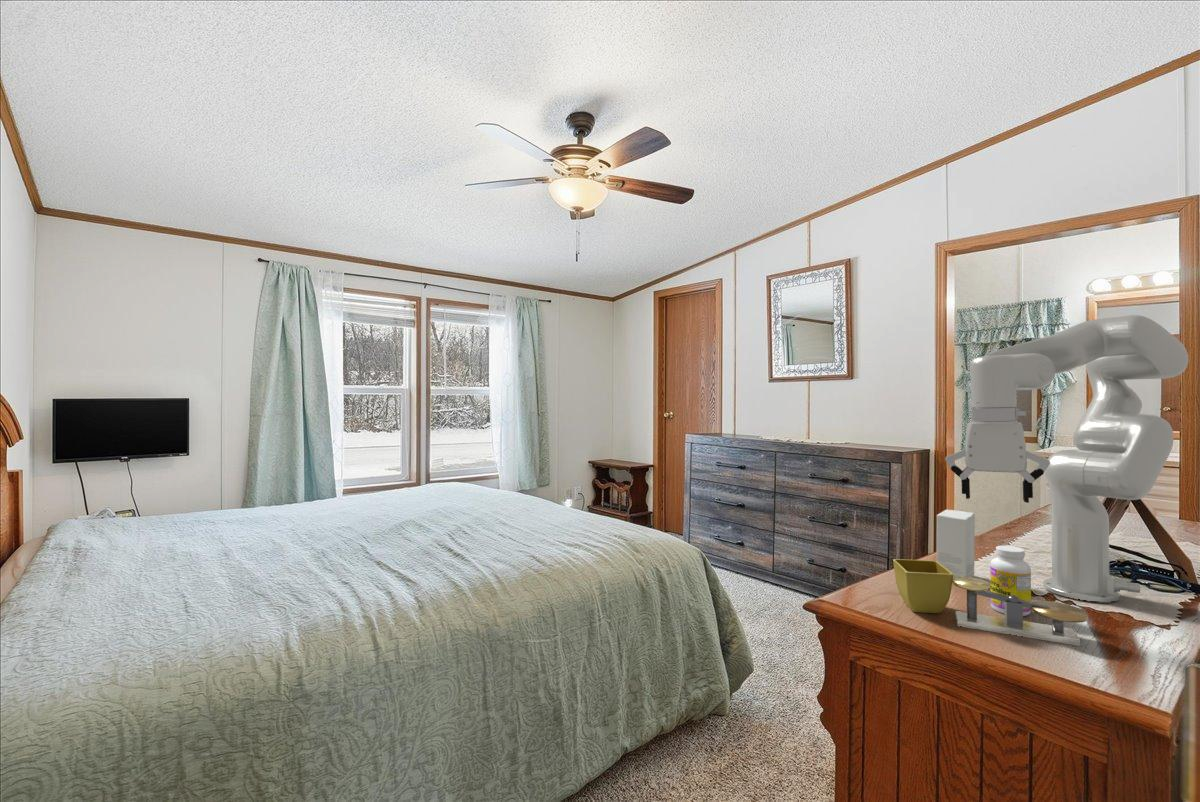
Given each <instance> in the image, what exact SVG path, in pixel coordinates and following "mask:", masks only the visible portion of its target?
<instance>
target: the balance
mask: <svg viewBox="0 0 1200 802" xmlns="http://www.w3.org/2000/svg"><path fill="white" fill-rule="evenodd" d="M952 585H954V586H955V587H958V588H960V589H962V590H963V589H964V590H966V611H959V610H955V620H957V621H956V624H957V627H960V626H962V627H961V628H965V629H966V628H967V629H973V630H979V631H986V632H991V633H998V634H1002V635H1003V634H1004V635H1009V634H1011V635H1010V636H1015V635H1017V637H1021V636H1023V637H1022V638H1029V639H1035V640H1041V641H1045V642H1052V643H1060V644H1063V645H1064V644H1066V645H1072V646H1077V647H1080V646H1081V641H1080V640H1081V639H1080V637H1079V636H1078V635H1077V633H1076V631H1075V630H1074V629H1073V628H1072V627H1065V626H1064V625H1065V623H1077V624H1078V623H1079V624H1081V623H1085V622H1087V621H1088V613H1087V611H1085V610H1083V609H1081V608H1080V607H1077V606H1074V605H1072V604H1071V605H1070V604H1068V603H1063V602H1057V601H1051V600H1034V601H1031V602H1029V601H1025V600H1021V599H1019V598H1018V597H1017V596H1014V595H1010V596H1006V595H1002V594H998V593H995V592H991V591H990V590H991V582H989V581H987V580H985V579H981V578H978V577H974V576H973V577H955V578H953V582H952ZM978 596H982V597H985V598H989V599H990V598H992V599H996V600H1000V601H1004V602H1005V614H1004V617H999V616H993V615H992V616H991V615H986V614H979V613H978V602H977V601H978V600H977V599H978ZM1023 607H1026V608H1030V610H1031V613H1034V614H1036V615H1038V616H1039V617H1040V616H1041V617H1043V618H1045V619H1049V620H1051V621H1052V624H1046V623H1041V622H1040V623H1039V622H1032V621H1026V620H1025V621H1024V616H1023Z"/></svg>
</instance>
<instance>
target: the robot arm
mask: <svg viewBox="0 0 1200 802" xmlns="http://www.w3.org/2000/svg"><path fill="white" fill-rule="evenodd" d="M1188 364H1189V353H1188V351H1187V349H1186V346H1185V345H1184V344H1183V343H1182V342H1181V341H1180V340H1179V339H1178V338H1177V337H1175V336H1174V335H1173V334H1172V333H1171V332H1170V331H1168V329H1166V328H1165V327H1163V326H1161V324H1160V323H1157V322H1156V321H1154V319H1151V318H1149V317H1146V316H1143V315H1138V314H1132V315H1122V316H1115V317H1114V316H1113V317H1112V316H1111V317H1105V318H1097V319H1096V318H1095V319H1091V320H1085V321H1083V322H1079V323H1077V324H1075V325H1073V326H1071V327H1069V328H1066V329H1063V330H1061V331H1058V332H1056V333H1054V334H1051V335H1047V336H1044V337H1039V338H1036V339H1033V340H1029V341H1027V342H1023V343H1022V342H1021V343H1019V344H1013V345H1011V346H1010V345H1009V346H1007V347H1003V348H1001V349H998V350H995V351H992V352H990V353H988V354H986V355H983V356H977V357H974V358H972V360H971V361H970V365H969V366H970V370H969V371H970V372H969V373H970V402H971V403H970V404H971V422H967V424H966V430H965V431H966V432H965V438H964V439H965V443H964V449H962V450H960V451H957V452H955V453H953V454H949V455H947V456H945V458H944V460H945V462H946V464H947V465H948V467H949V468H950V470H951V471H952V472H953V473H954V474H955V475H956V476H957V477H959V479H961V481H960V482H961V494H963V495H965V499H966V500H969V499H971V487H970V478H969V476H970V475H971V474H973V473H974V471H975V472H990V473H1012V474H1013V473H1018V474H1019V475H1020V476H1021V477H1022V478H1023V480H1022V500H1023V502H1024V503H1027V504H1028V503H1030V499H1034V491H1033V490H1034V489H1033V488H1034V486H1033V483H1034V482H1036V480H1038V479H1039V478H1040V477H1041V476H1043V475H1044V474H1045V477H1046V481H1047V484H1048V488H1049V494H1050V502H1051V503H1050V504H1051V578H1047V579H1044V580H1043V581H1042V582H1043V583H1042V585H1043V588H1044V589H1045V590H1047V591H1049V592H1050V593H1052V594H1056V595H1058V596H1062V597H1065V598H1068V597H1069V599H1073V598H1074V599H1073V600H1078V599H1080V600H1079V601H1083V600H1087V601H1086V602H1090V601H1101V602H1100V603H1112V602H1111V601H1115V602H1118V601H1119V600H1120V592H1121V591H1125V592H1126V591H1127V592H1131V593H1138V594H1139V593H1141V584H1139V583H1138V582H1137V583H1136V582H1129V581H1128V580H1127V579H1116V578H1114V577H1113V576H1112V575H1111V574H1110V519H1109V514H1108V511H1107V509H1106V506H1104V504H1103V502H1101V500H1100V498H1099V497H1104V498H1110V499H1118V500H1123V501H1124V500H1127V501H1137V500H1141V499H1143V498H1144V497H1146V496H1147V495H1148V494H1149V493H1150V492H1151V490H1152V489H1153V487H1154V485H1155V483H1156V482H1157V480H1158V478H1159V476H1160V473H1161V471H1162V470H1163V468H1164V467H1165V464H1166V462H1167V460H1168V458H1169V456H1170V454H1171V452H1172V448H1173V446H1174V430H1173V428H1172V426H1171V424H1170V422H1168V421H1167V420H1166V419H1164V418H1163V417H1161V416H1158V415H1155V414H1144V413H1141V410H1142V409H1143V402H1142V400H1141V399H1140V396H1139V395H1138V394H1137V393H1136V392H1135V391H1134V390H1133V389H1132V388H1131V387H1129V386H1128V385H1127V383H1126V381H1125V380H1127V381H1128V380H1130V381H1131V380H1158V379H1159V380H1161V379H1162V380H1163V379H1172V378H1175V377H1177V376H1180V375H1181V374H1182V373H1184V372H1185V371H1186V369H1187V368H1188ZM1084 365H1085V368H1086V373H1087V376H1088V380H1089V383H1090V388H1091V390H1092V398H1091V401H1090V403H1089V405H1088V407H1087V408H1086V410H1085V412H1084V413H1083V415H1082V417H1081V418H1080V420H1079V422H1078V424H1077V425H1076V428H1075V430H1074V432H1073V436H1072V439H1073V441H1072V442H1073V444H1074V446H1075V447H1076V448H1077V449H1064V450H1059V451H1056V452H1053V453H1052V454H1051V455H1050V456H1049V457H1048V458H1045V457H1043V456H1041V455H1038V454H1035V453H1034V452H1031V451H1028V450H1027V445H1026V439H1025V438H1026V437H1025V431H1024V427H1023V423H1022V422H1020V421H1018V419H1020V418H1025V417H1026V418H1027V410H1026V409H1019V408H1018V407H1017V406H1018V405H1017V402H1018V401H1017V400H1018V399H1017V391H1033V390H1039V389H1042V388H1045V387H1047V386H1049V385H1050V384H1051V383H1052V382H1053V380H1054V379H1055V377H1056V375H1057V374H1061V373H1065V372H1070V371H1073V370H1076V369H1078V368H1080V367H1083V366H1084ZM962 458H964V461H965V465H966V467H965V468H964V469H963V470H962V469H961V468H960V467H959V466H958V465H957V463H956V462H955V461H956V460H960V459H962ZM1028 459H1029V460H1031V461H1032V462H1036V463H1037V464H1038V465H1037V467H1036V468H1035V469H1034V470H1032V471H1031V472H1029V471H1028V470H1027V467H1028ZM1118 599H1119V600H1118Z"/></svg>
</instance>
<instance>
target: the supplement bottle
mask: <svg viewBox="0 0 1200 802" xmlns="http://www.w3.org/2000/svg"><path fill="white" fill-rule="evenodd" d="M995 553H996V555H997V557H995V558H993V559H992V560H990V570H989V571H990V573H989V574H990V584H991V590H989V591H991V592H995V593H998V594H1002V595H1006V596H1010V595H1014V596H1017V597H1018V598H1019V599H1021V600H1025V601H1029V602H1032V568H1031V565H1030V564H1029V563H1028V562H1026V561H1024V558H1025V557H1026V551H1025V549H1024V548H1021V547H1017V546H1012V545H997V546H996V547H995ZM989 599H990V607H991V608H992V609H993V610H995V611H996V612H999V613H1001V614H1004V615H1005V602H1004V601H1000V600H996V599H992V598H989ZM1031 613H1032V611H1031V610H1030V608H1026V607H1023V617H1027V616H1029V615H1031Z"/></svg>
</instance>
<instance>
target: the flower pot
mask: <svg viewBox="0 0 1200 802" xmlns="http://www.w3.org/2000/svg"><path fill="white" fill-rule="evenodd" d="M892 560H893V563H892V564H893V569H894V577H895V585H896V587H897V590H898V592H899V595H900V596H901V598H902V600H903V603H905V604H906V606H907V607H908V608H909V609H910V610H911V612H914V613H925V614H926V613H927V614H928V613H929V614H941V612H942V611H944V609H945V608H946V606H947V605H948V603H949V601H950V598H951V593H952V586H953V573H952V572H950V571H949V570H948V569H946V568H945V567H944V566H943V565H941V564H940V563H939V562H937V560H930V559H929V560H927V559H924V560H923V559H906V558H905V559H904V558H903V559H902V558H901V559H899V558H894V559H892Z"/></svg>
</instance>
